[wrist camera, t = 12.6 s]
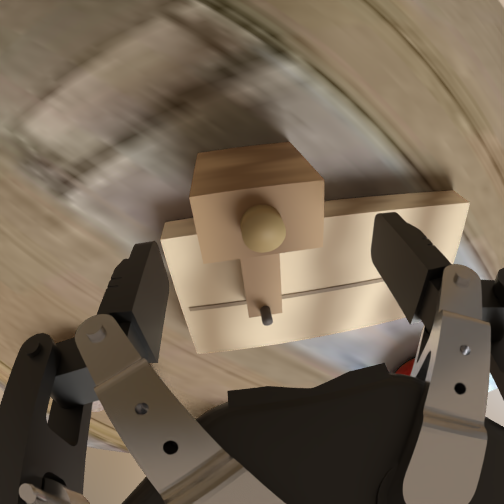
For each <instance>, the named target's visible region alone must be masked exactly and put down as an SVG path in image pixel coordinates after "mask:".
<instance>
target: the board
mask: <svg viewBox="0 0 504 504" xmlns="http://www.w3.org/2000/svg"><path fill="white" fill-rule="evenodd" d="M469 204H470V202H468V201H467V200H466V199H464V198H463V197H462V196H460V195H459V194H458V193H456V192H455V191H454V190H452V191H435V192H421V193H407V194H394V195H382V196H371V197H360V198H350V199H340V200H330V201H324V232H323V247H320V248H313V249H306V250H300V251H292V252H285V253H280V271H281V292H282V313H279V314H272V319H273V323H272V324H271V325H268V326H266V325H263V323H262V318H261V316H259V317H252V318H249V315H248V309H247V302H246V295H245V288H244V281H243V275H242V268H241V261H240V259H236V260H229V261H222V262H214V263H207V264H203V259H202V255H201V250H200V246H199V241H198V237H197V232H196V228H195V223H194V218H189V219H182V220H176V221H169V222H165V224H164V228H163V232H162V235H161V239H160V240H161V244H162V247H163V251H164V254H165V258H166V261H167V264H168V268H169V271H170V274H171V277H172V281H173V284H174V287H175V290H176V293H177V296H178V299H179V302H180V305H181V308H182V311H183V314H184V317H185V320H186V323H187V326H188V329H189V332H190V334H191V337H192V340H193V343H194V345H195V348H196V351H197V354H204V353H213V352H222V351H230V350H238V349H246V348H253V347H260V346H267V345H274V344H280V343H286V342H292V341H298V340H304V339H309V338H315V337H320V336H325V335H331V334H336V333H340V332H345V331H350V330H355V329H359V328H364V327H368V326H373V325H377V324H381V323H385V322H389V321H393V320H397V319H401V318H405V317H406V316H405V315H404V313H403V311H402V310H401V308H400V306H399V305H398V303H397V301H396V300H395V298H394V296H393V295H392V293H391V292H390V290H389V288H388V287H387V285H386V283H385V282H384V280H383V279H382V277H381V276H380V274H379V272H378V271H377V269H376V268H375V266H374V264H373V262H372V259H371V243H372V235H373V227H374V219H375V216H376V214H378V213H388V212H397V213H398V214H399V215H400V216H401V217H402V218H403V219H404V220H405V221H406V222H407V223H409V224H411V225H413V226H415V227H416V228H418V229H420V230H421V231H422V232H423V233H424V234H425V236H426V237H427V239H429V240H430V241H431V242H432V243H433V245H435V246H436V247H437V248H438V249H439V251H440V252H441V253H442V254H443V255H444V256H445V257H446V258H447V259H448V261H449V262H450V263H451V264H453V263H454V260H455V256H456V253H457V250H458V247H459V243H460V240H461V236H462V232H463V229H464V225H465V221H466V217H467V213H468V208H469Z"/></svg>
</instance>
